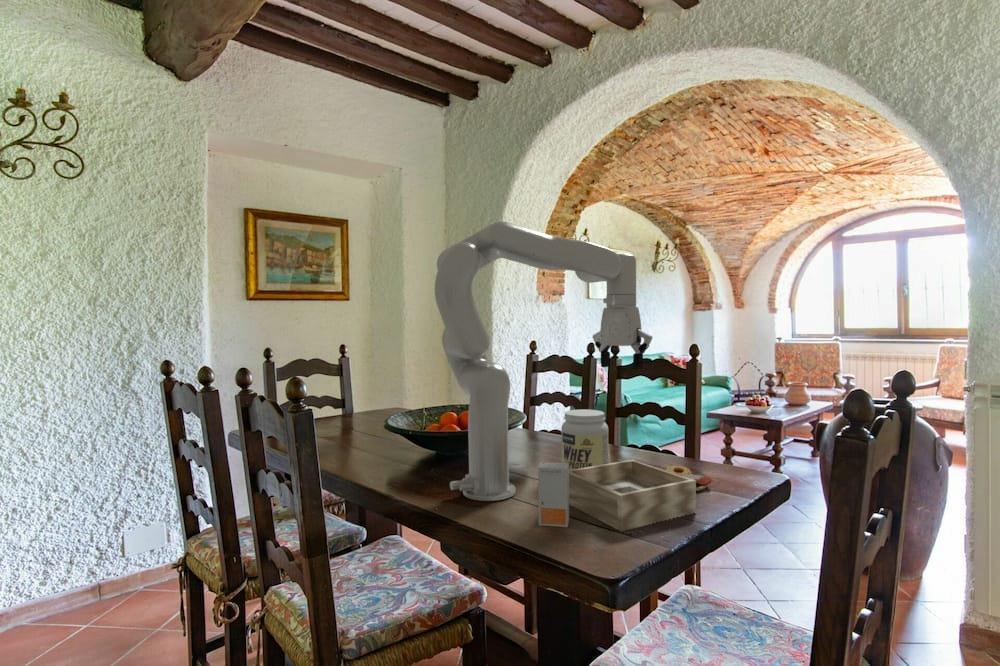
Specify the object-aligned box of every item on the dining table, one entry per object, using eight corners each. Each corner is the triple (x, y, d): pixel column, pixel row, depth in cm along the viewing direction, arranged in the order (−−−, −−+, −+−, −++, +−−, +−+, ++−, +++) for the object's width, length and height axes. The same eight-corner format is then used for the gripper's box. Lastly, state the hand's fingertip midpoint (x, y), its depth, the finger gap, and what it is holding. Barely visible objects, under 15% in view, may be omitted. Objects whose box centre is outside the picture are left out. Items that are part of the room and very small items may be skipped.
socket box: (621, 531, 108) (620, 495, 108) (563, 501, 126) (563, 471, 125) (696, 513, 117) (695, 480, 117) (632, 488, 135) (632, 459, 134)
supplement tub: (554, 479, 143) (553, 414, 142) (571, 468, 154) (570, 407, 153) (600, 485, 137) (599, 417, 137) (614, 473, 148) (613, 410, 147)
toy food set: (675, 475, 146) (675, 463, 146) (721, 487, 135) (721, 474, 135) (642, 485, 138) (642, 472, 138) (688, 498, 127) (688, 484, 127)
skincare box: (538, 526, 111) (537, 467, 111) (540, 518, 115) (539, 461, 115) (568, 528, 110) (567, 468, 110) (569, 520, 114) (569, 462, 114)
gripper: (585, 302, 147) (585, 367, 147) (643, 300, 135) (643, 371, 135) (601, 303, 152) (601, 365, 153) (658, 301, 140) (658, 369, 141)
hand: (621, 367), depth 144 cm, fingers open, 9 cm apart
